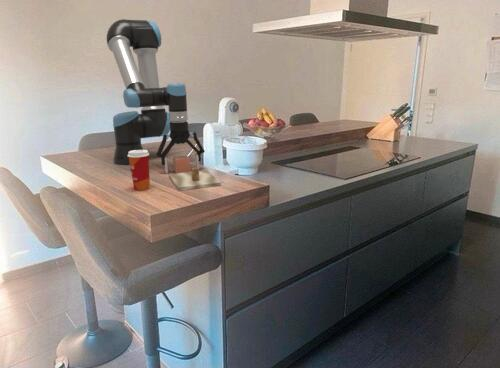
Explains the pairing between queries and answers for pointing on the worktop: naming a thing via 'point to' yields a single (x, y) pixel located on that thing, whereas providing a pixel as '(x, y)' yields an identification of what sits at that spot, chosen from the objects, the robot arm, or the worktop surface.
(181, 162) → the reddish orange cube
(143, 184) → the paper cup
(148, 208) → the worktop surface
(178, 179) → the board
